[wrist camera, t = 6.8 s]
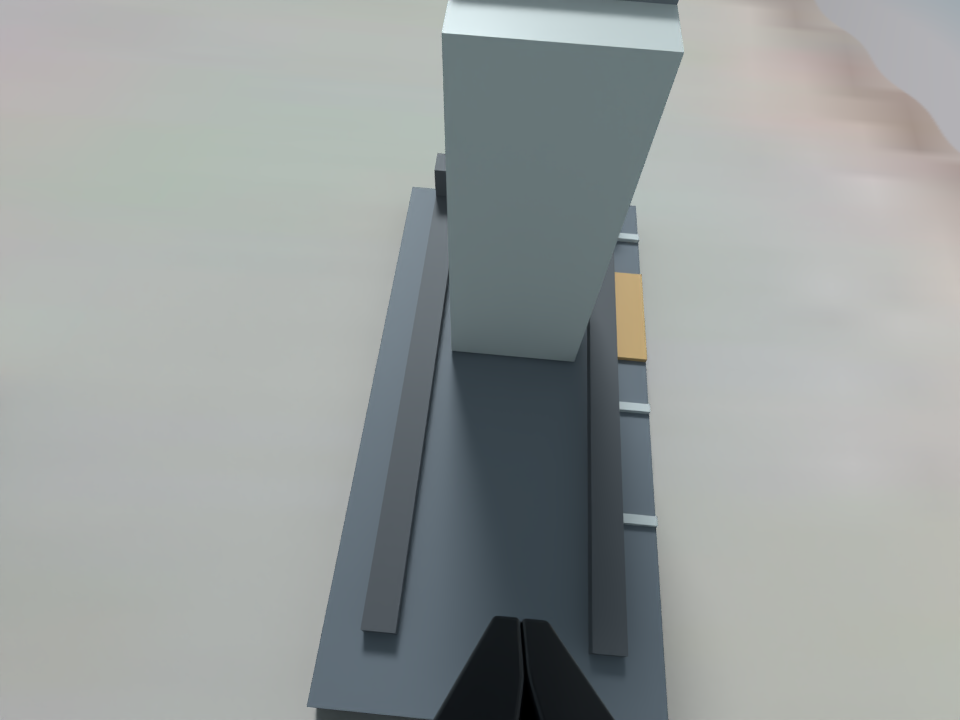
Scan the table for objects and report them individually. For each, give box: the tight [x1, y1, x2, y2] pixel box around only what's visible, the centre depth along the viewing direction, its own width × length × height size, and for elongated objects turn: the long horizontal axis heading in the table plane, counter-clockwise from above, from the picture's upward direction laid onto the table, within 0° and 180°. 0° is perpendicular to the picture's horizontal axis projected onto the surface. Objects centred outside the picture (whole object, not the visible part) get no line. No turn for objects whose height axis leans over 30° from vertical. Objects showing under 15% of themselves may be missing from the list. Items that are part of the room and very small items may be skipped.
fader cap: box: [442, 0, 684, 362], centre depth 17 cm, size 4×5×13 cm
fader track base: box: [307, 153, 668, 720], centre depth 20 cm, size 20×10×3 cm, turn 175°
